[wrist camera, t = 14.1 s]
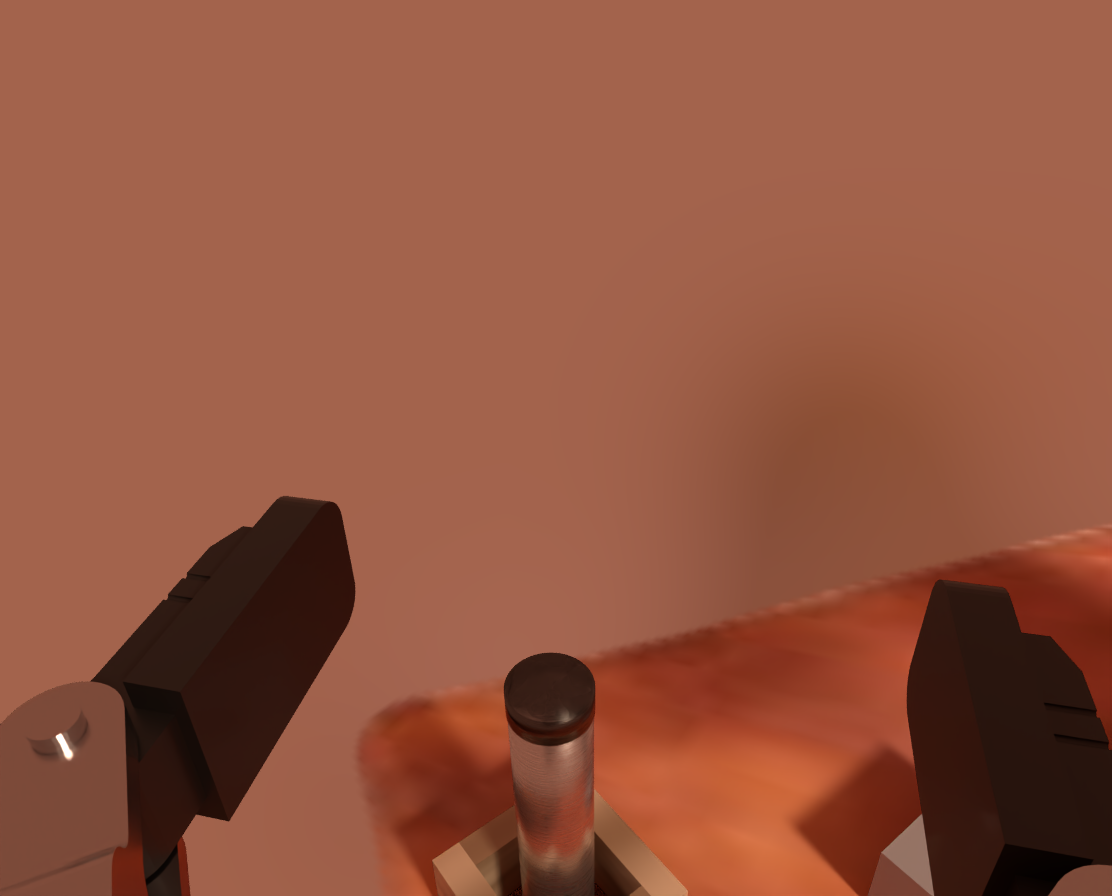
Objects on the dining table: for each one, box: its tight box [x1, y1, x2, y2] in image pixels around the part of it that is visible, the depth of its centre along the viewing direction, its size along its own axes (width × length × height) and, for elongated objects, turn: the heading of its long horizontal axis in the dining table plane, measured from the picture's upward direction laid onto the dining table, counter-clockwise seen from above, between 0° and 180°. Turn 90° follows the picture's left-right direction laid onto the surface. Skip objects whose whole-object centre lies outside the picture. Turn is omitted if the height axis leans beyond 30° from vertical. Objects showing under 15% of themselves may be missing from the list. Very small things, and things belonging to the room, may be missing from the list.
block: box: [868, 814, 934, 896], centre depth 38 cm, size 8×8×4 cm
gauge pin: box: [504, 653, 595, 896], centre depth 35 cm, size 3×3×16 cm
